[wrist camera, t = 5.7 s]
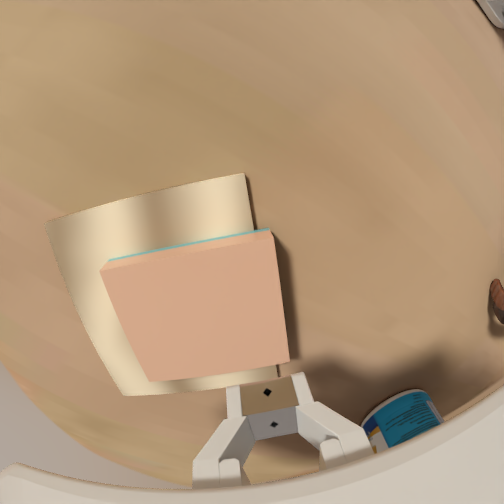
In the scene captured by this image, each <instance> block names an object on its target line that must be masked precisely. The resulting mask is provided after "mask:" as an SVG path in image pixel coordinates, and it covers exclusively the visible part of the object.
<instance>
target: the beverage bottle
mask: <svg viewBox="0 0 504 504" xmlns="http://www.w3.org/2000/svg"><path fill="white" fill-rule="evenodd" d="M442 423H444V420H443V419H442V417H441V415H440V414H439V412H438V411H437V409H436V408H435V406H434V404H433V402H432V400H431V398H430V397H429V395H428V394H427V393H426V392H425V391H423V390H420V389H412V390H407V391H404V392H401V393H399V394H397V395H394V396H393V397H391V398H389V399H387V400H386V401H384V402H383V403H381V404H380V405H378V406H377V407H376V408H375V409H374V410H372V411H371V412H370V413H369V414H368V415H367V417H366V418H365V419H364V421H363V422H362V424H361V427H362V428H363V429H364V431H365V434H366V436H367V438H368V440H369V443H370V445H371V447H372V449H373V452H374V454H376V453H379V452H381V451H384V450H386V449H389V448H391V447H394V446H396V445H398V444H401V443H403V442H405V441H408V440H410V439H412V438H414V437H416V436H418V435H420V434H422V433H425V432H427V431H429V430H431V429H432V428H434V427H436V426H438V425H440V424H442Z"/></svg>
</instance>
